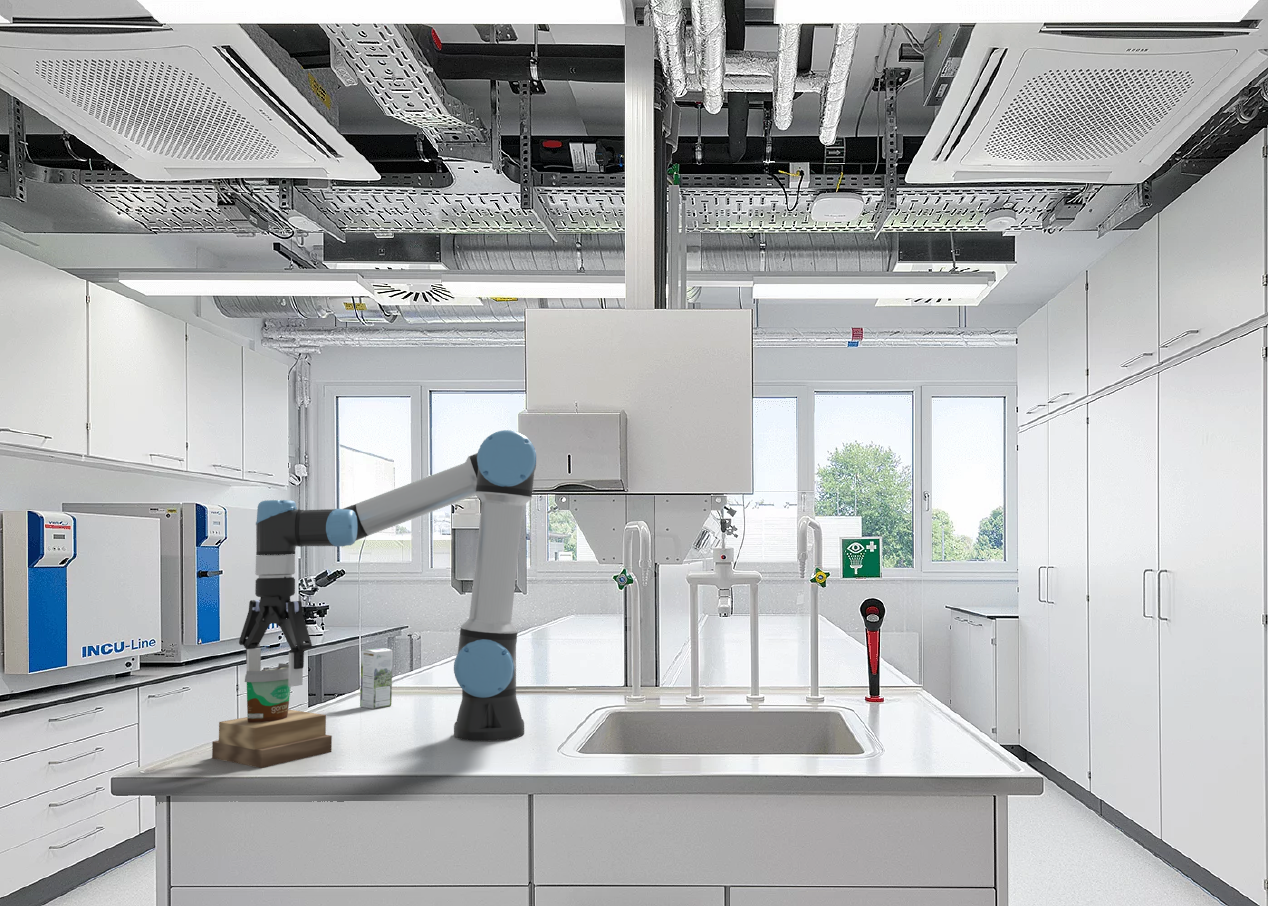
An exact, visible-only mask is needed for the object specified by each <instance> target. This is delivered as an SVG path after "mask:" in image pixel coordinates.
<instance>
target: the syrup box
mask: <svg viewBox="0 0 1268 906" xmlns="http://www.w3.org/2000/svg"><path fill="white" fill-rule="evenodd" d="M393 654H394V653H393V649H390V648H386V647H378V648H371V649H362V650H361V652H360V692H359V693H360V695H359V698H360V699H359V701H360V703H359V704H360V705H359V706H360V707H361V708H365V709H371V710H372V709H374V710H375V709H381V708H387V707H392V701H393V700H392V698H393V697H392V695H393V691H392V690H393Z"/></svg>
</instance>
